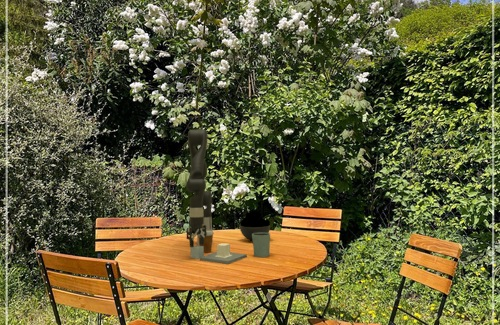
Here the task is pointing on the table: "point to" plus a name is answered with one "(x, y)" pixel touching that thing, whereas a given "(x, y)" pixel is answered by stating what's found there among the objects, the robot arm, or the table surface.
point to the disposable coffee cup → (207, 241)
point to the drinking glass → (261, 244)
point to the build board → (223, 258)
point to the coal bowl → (253, 225)
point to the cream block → (223, 250)
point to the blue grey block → (197, 252)
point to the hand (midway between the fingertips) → (196, 245)
